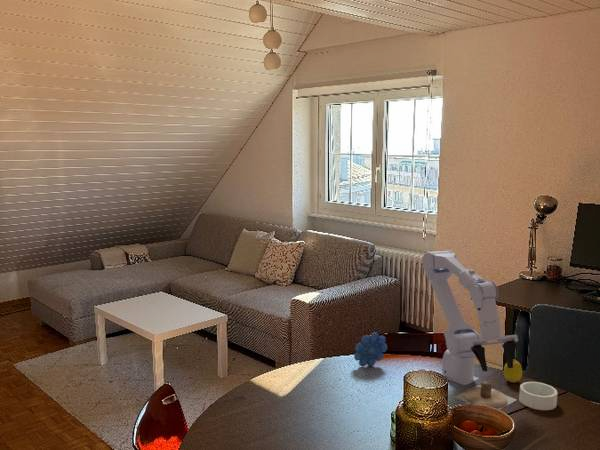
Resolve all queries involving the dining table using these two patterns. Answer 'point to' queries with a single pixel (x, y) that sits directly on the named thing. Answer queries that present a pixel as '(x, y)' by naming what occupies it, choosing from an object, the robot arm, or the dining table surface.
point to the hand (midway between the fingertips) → (497, 369)
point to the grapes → (370, 349)
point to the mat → (462, 395)
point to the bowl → (538, 395)
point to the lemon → (513, 372)
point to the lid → (485, 395)
